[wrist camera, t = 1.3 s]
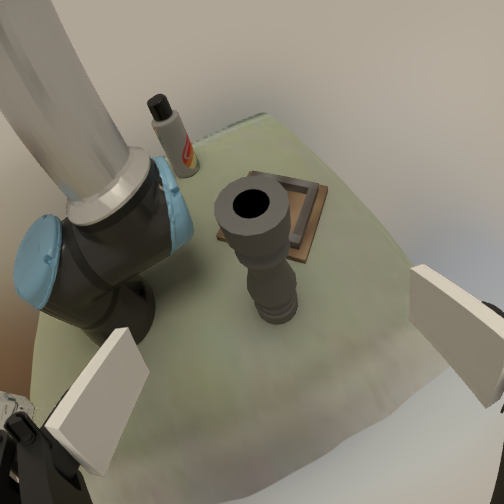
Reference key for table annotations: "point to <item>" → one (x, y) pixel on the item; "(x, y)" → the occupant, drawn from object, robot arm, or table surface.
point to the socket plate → (298, 212)
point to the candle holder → (261, 242)
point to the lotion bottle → (173, 136)
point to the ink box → (13, 406)
